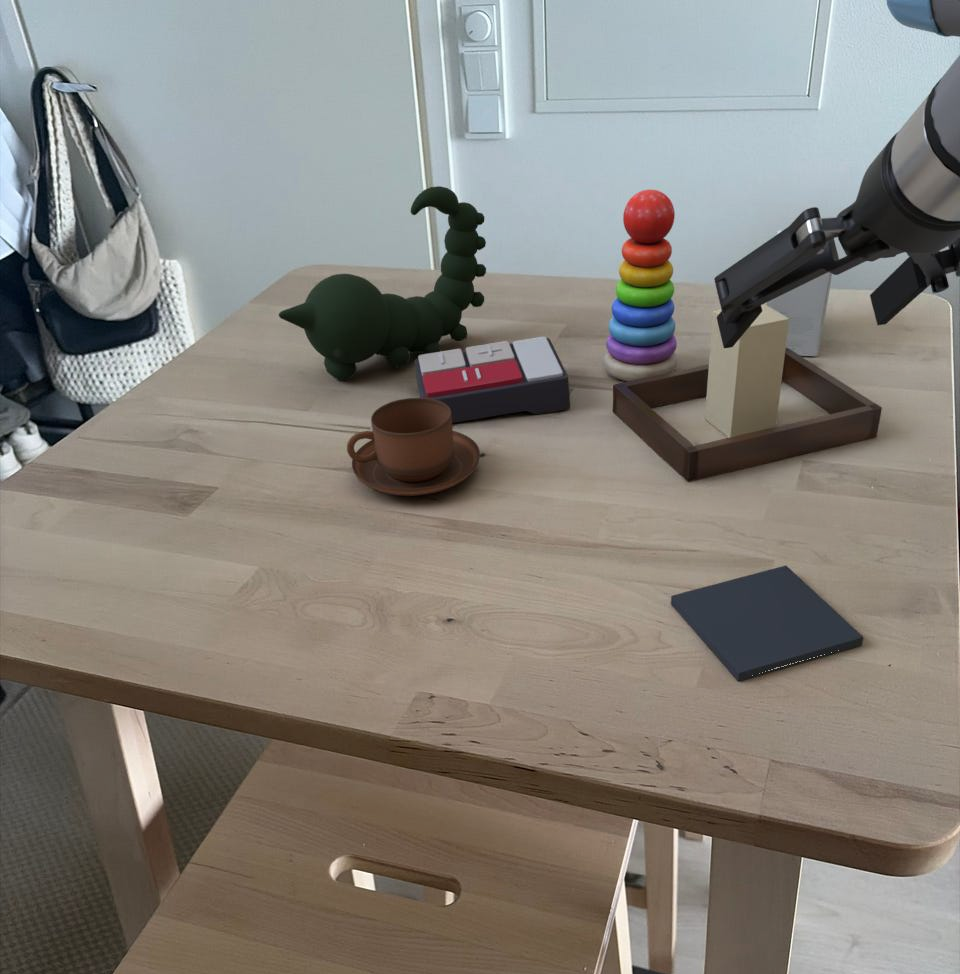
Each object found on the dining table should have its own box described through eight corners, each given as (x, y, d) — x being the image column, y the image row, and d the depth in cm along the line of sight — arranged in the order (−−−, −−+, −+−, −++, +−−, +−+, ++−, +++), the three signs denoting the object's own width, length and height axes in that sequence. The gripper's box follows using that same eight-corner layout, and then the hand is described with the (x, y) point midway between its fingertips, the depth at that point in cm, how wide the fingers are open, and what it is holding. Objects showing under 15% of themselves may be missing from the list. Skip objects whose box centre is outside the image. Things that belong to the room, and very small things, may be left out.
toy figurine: (455, 338, 128) (268, 377, 116) (455, 173, 117) (249, 198, 105) (498, 361, 121) (305, 404, 110) (502, 189, 110) (288, 217, 99)
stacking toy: (596, 382, 111) (598, 200, 99) (611, 353, 117) (614, 178, 105) (670, 387, 109) (680, 202, 97) (681, 357, 115) (692, 179, 103)
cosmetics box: (820, 357, 112) (834, 260, 106) (759, 355, 114) (770, 259, 107) (821, 322, 120) (834, 229, 114) (764, 320, 122) (774, 228, 115)
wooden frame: (783, 374, 110) (787, 347, 108) (876, 436, 98) (882, 407, 96) (612, 411, 105) (612, 384, 103) (687, 482, 93) (689, 452, 91)
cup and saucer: (394, 522, 91) (385, 459, 87) (332, 471, 99) (322, 412, 95) (506, 478, 96) (502, 418, 92) (438, 433, 104) (432, 376, 100)
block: (748, 408, 104) (760, 301, 97) (775, 429, 100) (789, 318, 93) (704, 418, 103) (712, 310, 96) (730, 439, 99) (740, 328, 92)
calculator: (412, 352, 111) (548, 329, 112) (418, 388, 114) (551, 367, 114) (421, 394, 103) (568, 370, 103) (427, 433, 105) (571, 409, 106)
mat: (784, 573, 81) (786, 565, 80) (862, 645, 73) (864, 636, 73) (670, 603, 79) (670, 595, 78) (737, 681, 71) (739, 673, 71)
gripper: (1105, 93, 66) (928, 259, 87) (741, 137, 63) (648, 298, 84) (1136, 200, 65) (950, 342, 86) (769, 251, 62) (668, 385, 83)
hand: (801, 321), depth 85 cm, fingers open, 13 cm apart
